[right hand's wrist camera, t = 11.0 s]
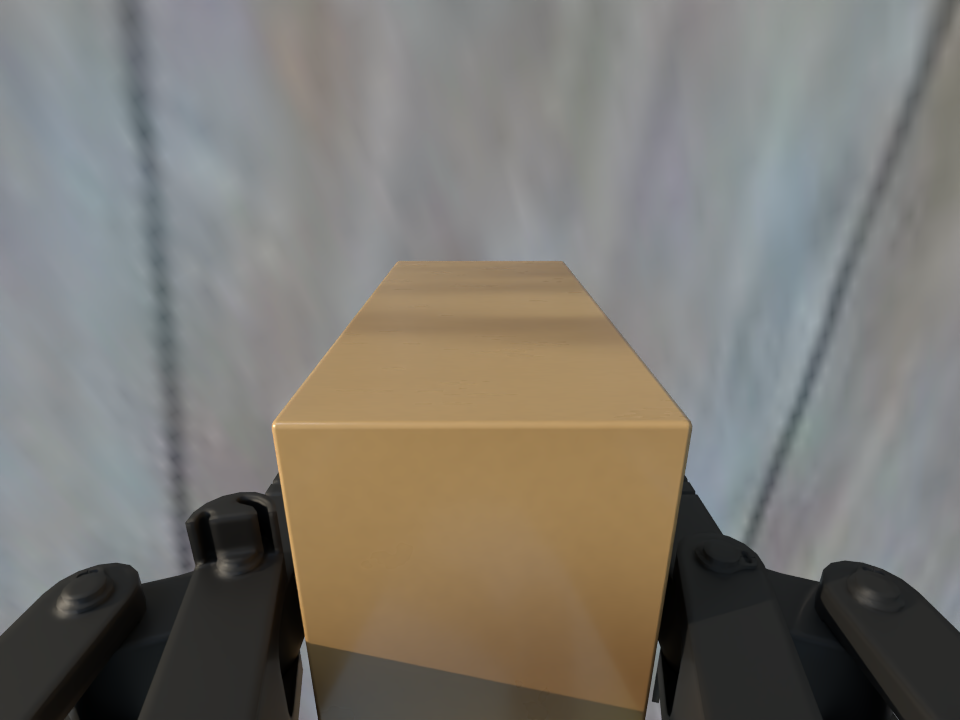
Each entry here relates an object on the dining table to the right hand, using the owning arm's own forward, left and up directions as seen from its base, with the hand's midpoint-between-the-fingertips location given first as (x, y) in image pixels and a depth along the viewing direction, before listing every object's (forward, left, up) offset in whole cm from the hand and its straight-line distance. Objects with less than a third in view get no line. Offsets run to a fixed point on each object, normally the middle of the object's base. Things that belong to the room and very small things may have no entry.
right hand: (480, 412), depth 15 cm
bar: (+3, +7, -1) cm, 7 cm away
